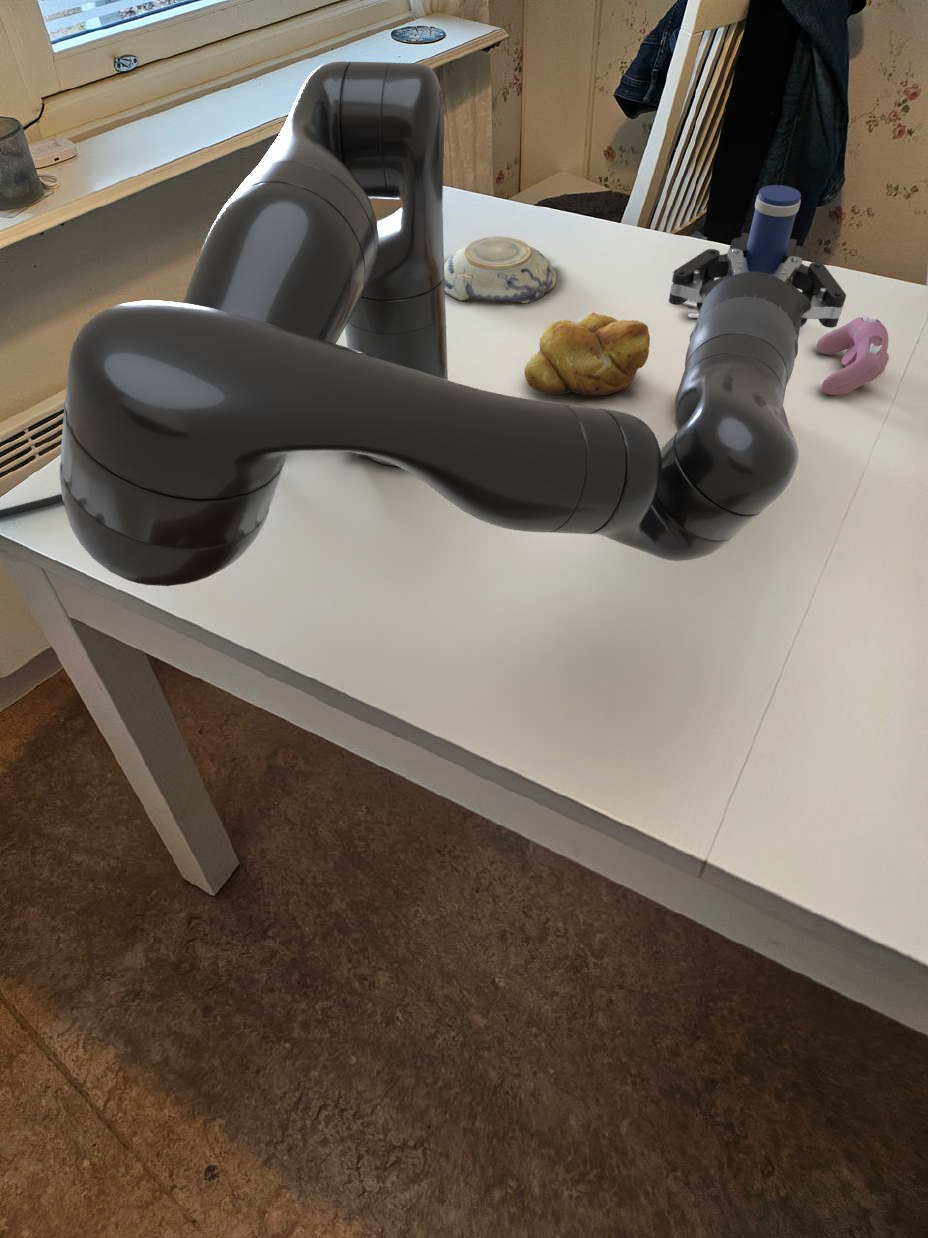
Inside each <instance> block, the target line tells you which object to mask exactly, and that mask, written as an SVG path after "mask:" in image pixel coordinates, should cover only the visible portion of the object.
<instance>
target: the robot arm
mask: <svg viewBox="0 0 928 1238" xmlns="http://www.w3.org/2000/svg"><path fill="white" fill-rule="evenodd" d="M442 93H443V92H442V88H441V84H440V81H439V79H438V76H437V74H436V72H435V71H434V69H432V67H430V66H428V65H426V64H423V63H415V62H384V61H382V62H381V61H380V62H379V61H346V60H345V61H332V62H329V63H325V64H322V65H320V66H318V67H317V68H315V69H313V71H311V73H310V74H309V75H308V76H307V78H306V80H305V81H304V82H303V84H302V86H301V88H300V89H299V92H298V93H297V97H296V98H295V101H294V103H293V104H292V105H293V106H292V108H291V110H290V111H289V114H288V117H287V118H286V120H285V123H284V125H283V127H282V128H281V131H280V133H278V136H277V137H276V139H275V140H274V142H273V143H272V145H270V147H269V149H268V150H267V152H266V153H265V154H264V156H263V158H262V159H261V160H260V162H259V163H258V165H257V166H256V167H255V168H254V169H253V170H252V171H251V172H250V174H249V175H248V176H247V177H246V178H245V179H244V180H243V181H242V182H241V183H240V185H239V186H238V188H237V189H236V190H235V192H233V194H232V195H231V197H230V198H229V199H228V200H227V202H226V203H225V204H224V206H223V207H222V209H221V210H220V212H219V213H218V215H217V217H216V219H215V220H214V222H213V223H212V225H211V227H210V229H209V231H208V233H207V236H206V238H205V240H204V243H203V245H202V248H201V250H200V253H199V256H198V258H197V261H196V264H195V266H194V269H193V271H192V275H191V277H190V280H189V283H188V286H187V289H186V292H185V295H184V298H183V302H174V301H167V300H166V301H165V300H138V301H131V302H126V303H121V304H115V305H112V306H110V307H108V308H106V309H104V310H102V311H100V312H98V313H97V314H95V315H93V316H92V317H90V319H89V320H88V321H87V322H85V323H84V324H83V325H82V327H81V328H80V329H79V331H78V333H77V335H76V336H75V338H74V341H73V343H72V345H71V348H70V352H69V358H68V365H67V374H66V386H65V387H66V388H65V397H64V405H63V417H62V418H63V419H62V432H61V443H60V444H61V445H60V463H59V481H60V490H61V493H58V494H55V495H52V496H48V497H44V498H41V499H37V500H33V501H29V502H26V503H25V502H24V503H20V504H17V505H14V506H10V507H4V508H2V509H0V519H4V518H7V517H8V518H9V517H12V516H16V515H20V514H23V513H27V512H31V511H35V510H40V509H43V508H47V507H51V506H54V505H58V504H61V503H63V506H64V509H65V512H66V515H67V519H68V522H69V526H70V528H71V530H72V532H73V534H74V535H75V537H76V539H77V540H78V542H79V544H80V545H81V546H82V547H83V549H84V550H85V551H86V552H87V554H88V555H90V557H91V558H92V559H93V560H94V561H95V562H97V563H98V564H99V565H101V567H103V568H104V569H106V570H107V571H108V572H109V573H112V574H114V575H116V576H118V577H120V578H122V579H124V580H126V581H129V582H131V583H135V584H140V585H143V586H144V585H145V586H156V587H171V586H179V585H186V584H191V583H194V582H198V581H201V580H204V579H206V578H208V577H211V576H214V575H215V574H217V573H219V572H220V571H223V570H225V569H226V568H227V567H229V566H230V565H232V564H233V563H234V562H236V561H237V560H238V559H239V558H240V557H242V556H243V554H244V553H245V552H246V551H248V549H249V548H250V547H251V546H252V545H253V543H254V542H255V540H256V539H257V538H258V535H259V534H260V532H261V530H262V529H263V527H264V525H265V523H266V521H267V518H268V515H269V511H270V507H271V505H272V502H273V500H274V498H275V494H276V490H277V487H278V485H279V482H280V478H281V476H282V472H283V470H284V467H285V464H286V460H287V459H288V455H289V454H292V453H302V452H304V453H305V452H341V453H342V452H343V453H352V454H356V455H357V457H358V458H369V459H370V460H372V461H375V462H377V463H380V464H382V465H387V466H393V467H394V466H396V467H398V468H400V469H402V470H404V471H405V472H408V473H409V474H411V475H412V476H414V477H416V478H417V479H419V480H420V481H421V482H423V483H424V484H426V485H427V486H429V488H431V489H433V490H434V491H435V492H436V493H437V494H439V495H441V496H442V497H443V498H444V499H446V500H447V501H448V502H450V503H451V504H452V505H454V506H456V507H457V508H459V509H460V510H461V511H463V512H464V513H466V514H468V515H469V516H472V518H475V519H477V520H479V521H482V522H484V523H487V524H490V525H493V526H495V527H499V528H503V529H507V530H512V531H519V532H526V533H552V534H577V535H599V536H602V537H605V538H608V539H610V540H612V541H614V542H616V543H619V544H621V545H625V546H627V547H630V548H633V549H636V550H638V551H641V552H643V553H646V554H649V555H651V556H654V557H657V558H660V559H661V560H666V561H671V562H672V561H673V562H684V561H693V560H697V559H701V558H703V557H707V556H709V555H712V554H713V553H716V551H718V550H720V549H721V548H722V547H723V546H725V545H726V544H727V543H729V542H730V541H731V540H732V539H733V538H734V537H735V536H736V535H737V534H738V533H740V532H741V530H744V528H745V527H746V526H748V525H749V524H750V523H751V522H752V521H753V520H754V519H755V518H757V517H758V516H759V515H760V514H761V513H762V512H763V511H766V509H767V508H768V507H769V506H771V505H772V504H773V503H774V502H775V501H776V500H777V499H779V498H780V496H782V494H783V493H784V492H785V491H786V489H787V487H788V486H789V485H790V483H791V481H792V479H793V477H794V475H795V472H796V469H797V467H798V463H799V457H800V453H799V451H800V450H799V447H798V443H797V440H796V437H795V436H794V433H793V431H792V428H791V425H790V423H789V420H788V417H787V414H786V410H785V408H784V401H785V400H784V399H785V396H786V389H787V386H788V384H789V382H790V379H791V377H792V373H793V371H794V366H795V361H796V359H797V356H798V353H799V337H800V331H801V328H802V327H803V326H805V325H806V324H807V322H808V320H818V321H819V323H820V325H821V326H823V327H825V328H828V329H829V328H830V329H831V328H836V327H837V326H838V323H839V320H840V317H841V315H842V312H843V309H844V304H845V302H846V298H847V294H846V293H845V291H844V289H842V287H841V286H840V284H839V283H838V281H836V279H835V278H834V276H833V275H832V274H831V272H830V271H829V269H828V268H827V267H826V266H825V265H824V263H820V262H811V263H809V265H805V264H803V262H804V261H803V260H804V259H803V254H804V248H803V246H801V245H797V242H798V240H797V239H793V238H790V239H789V243H788V247H787V251H786V253H785V257H784V261H783V263H781V264H780V266H779V267H778V268H777V270H776V271H775V272H774V274H772V275H771V274H767V273H762V272H750V271H749V270H748V264H747V259H746V258H744V257H745V253H746V249H747V243H748V239H749V234H750V233H746V232H742V233H741V236H740V237H734V238H732V239H731V243H730V245H729V249H728V250H727V253H724V254H721V252H720V250H718V249H716V248H708V249H706V250H704V251H702V252H701V253H699V254H698V255H696V256H695V257H693V258H692V259H690V260H689V261H687V262H686V263H684V264H683V265H681V266H679V267H678V268H676V269H675V270H674V271H673V273H672V278H671V283H670V284H671V285H670V291H669V297H668V303H669V304H671V305H674V306H679V305H682V304H684V302H686V301H687V302H693V303H697V307H696V309H697V311H698V313H699V315H698V318H696V322H695V325H694V327H693V328H692V330H691V333H690V336H689V340H688V341H689V343H688V347H687V350H686V353H685V360H684V371H683V373H682V377H681V380H680V382H679V386H678V388H677V392H676V396H675V402H674V408H673V419H674V420H673V421H674V425H675V429H676V433H674V435H673V436H672V437H671V438H670V439H669V440H668V441H667V443H666V444H665V445H663V447H662V448H661V447H660V444H659V441H658V439H657V437H656V435H655V433H654V431H653V430H652V428H651V427H650V426H649V425H648V424H647V423H646V422H645V421H644V420H642V419H640V418H639V417H637V416H635V415H632V414H630V413H627V412H624V411H620V410H616V409H615V410H614V409H609V408H608V409H607V408H602V407H592V406H586V405H585V406H584V405H579V404H578V405H576V404H570V403H562V402H556V401H547V400H538V399H532V398H531V399H530V398H524V397H520V396H519V397H518V396H512V395H506V394H502V393H497V392H492V391H489V390H484V389H479V388H475V387H472V386H469V385H465V384H462V383H459V382H455V381H451V380H449V374H448V345H447V344H448V342H447V316H446V315H447V313H446V312H447V310H446V292H445V278H444V264H445V251H444V250H445V249H444V248H445V247H444V246H445V245H444V208H443V207H444V205H443V203H444V202H443V199H444V159H445V158H444V156H445V154H444V153H445V152H444V151H445V110H444V99H443V94H442ZM370 199H379V200H398V201H399V202H400V205H401V207H399V208H398V209H397V210H396V211H394V212H393V213H390V214H389V215H388V216H385V217H383V218H380V219H378V220H377V216H376V214H375V211H374V208H373V205H372V202H371V200H370ZM344 331H345V339H346V346H343V345H340V344H337V342H338V341H339V339H340V337H341V335H342V333H343V332H344Z"/></svg>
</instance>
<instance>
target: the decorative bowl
mask: <svg viewBox="0 0 928 1238" xmlns="http://www.w3.org/2000/svg"><path fill="white" fill-rule="evenodd" d="M554 269H555V268H553V266H552V264H551V262H550V261H549V260H548V258H547V257H546V256H545V255H543V253H542V252H540V251H539V250H537V248H534V247H532V246H530V245H528V243H526V242H525V241H524V240H521V239H519V238H515V237H509V236H488V237H482V238H478V239H477V240H474V241H472V242H471V243H469V244H468V245H465V246H463V247H462V248H461V249H458V250H457V251H455V252H453V254H452V255H450V256H449V258H448V259H446V261H445V262H444V278H445V294H448V296H450V297H453V298H454V299H456V300H458V301H461V302H464V301H466V300H468V299H481V300H488V301H496V302H497V301H500V302H503V301H507V302H509V301H511V302H518V303H522V304H528V303H530V302H533V301H536V300H538V299H540V298H543V297H544V296H545V293H548V292H550V291H551V290H553V289H554V287H555V285H556V282H557V274H556V271H555V270H554Z"/></svg>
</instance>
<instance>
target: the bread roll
mask: <svg viewBox="0 0 928 1238" xmlns="http://www.w3.org/2000/svg"><path fill="white" fill-rule="evenodd" d="M650 342H651V336H650V332H649V326H648V325H647V324H646V323H645V322H642V321H639V320H635V319H634V320H633V319H632V320H626V319H625V320H624V319H622V320H617V319H616V318H614V317H612V316H608V315H605V314H599V313H596V312H591V313H589V314H587V315H585V316H584V317H582V318H581V319H579V320H577V321H576V322H575V321H572V320H567V319H562V320H558V321H556V322H553V323H551V324H550V325H549V326H548V327H546V328H545V330H544V331H543V332H542V334H541V335H540V338H539V350H538V352H536V353H535V354H533V355H532V356H531V357H530V358H529V360H528V361H527V362H526V363H525V366H524V377H525V381H526V382H527V384H528V385H529V387H530V388H532V389H533V390H536V391H538V392H541V393H544V394H548V395H556V396H557V395H563V394H568V393H571V392H572V393H576V394H577V395H584V396H607V395H610V394H613V393H617V392H620V391H623V390H625V389H626V388H627V386H629V385H630V384H631V383H632V381H633V380H634V379H635V376H636V374H637V372H638V370H639V369H642V368H643V367H644V366H645V364H646V363H647V361H648V358H649V353H650Z"/></svg>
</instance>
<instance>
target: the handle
mask: <svg viewBox="0 0 928 1238" xmlns="http://www.w3.org/2000/svg"><path fill="white" fill-rule="evenodd" d="M801 197H802V194H801V192H800V190H798V189H796V188H794V187H792V186H789V185H788V186H787V185H781V184H771V185H766V186H763V187H761V188H760V189H759V190H758V194H757V195H756V198H755V203H754V208H755V209H754V213H753V217H752V221H751V226H750V230H749V233H748V234H749V239H748V243H747V249H746V253H745V257H744V258H746V259H747V264H748V270H749V271H750V272H762V273H767V274H771V275H772V274H774V272H775V271H776V270H777V268H778V267H779V266H780V264H781V263H783V261H784V257H785V253H786V251H787V247H788V243H789V239H791V236H792V231H793V228H794V224H795V220H796V217H797V213H798V212H799V210H800V206H801V202H802V199H801Z"/></svg>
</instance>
